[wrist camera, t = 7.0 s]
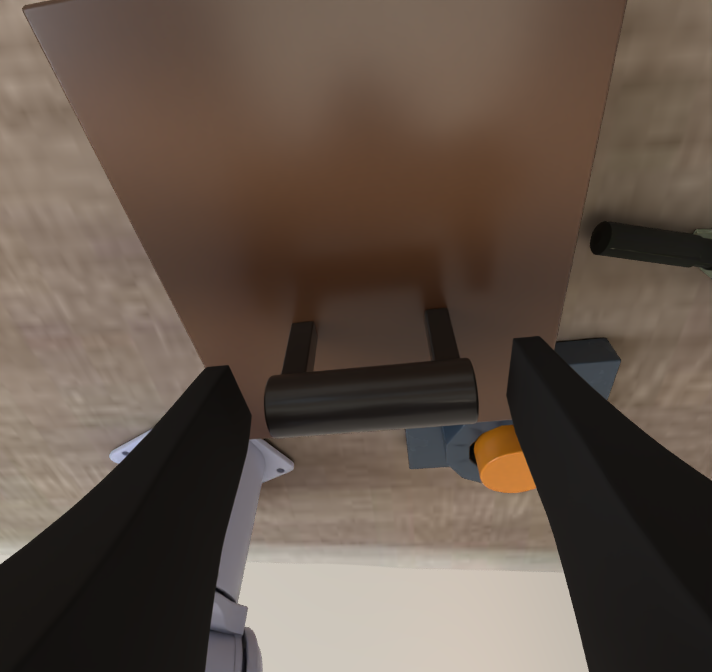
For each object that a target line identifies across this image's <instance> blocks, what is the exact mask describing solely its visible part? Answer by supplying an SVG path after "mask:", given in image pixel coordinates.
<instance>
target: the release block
mask: <svg viewBox="0 0 712 672" xmlns="http://www.w3.org/2000/svg"><path fill="white" fill-rule="evenodd" d="M554 351H555V352H556V353H557V354H558V355H559V356H560V357H561V358H562V359H563V360H564V361H565V362H566V363H568V364H569V365H570V366H571V367H572V368H573V369H574V370H575V371H576V372H577V373H578V374H579V375H580V376H581V377H582V378H583V379H584V380H585V381H586V382H587V383H588V384H589V385H591V386H592V387H593V388H594V389H595V390H596V391H597V392H598V393H599V394H600V395H602V396H603V397H604V398H605V399H606V400H608V397H609V394H610V391H611V388H612V386H613V383H614V380H615V377H616V374H617V371H618V369H619V366H620V363H621V359H620V358H619V356H618V355H617V353H616V352H615V350H614V349H613V347H612V346H611V344H610V343H609V341H608V340H607V338H599V339H588V340H578V341H567V342H556V344H555V349H554ZM504 425H513V421H512V420H501V421H488V422H476V423H474V424H464V425H451V426H438V427H425V428H411V429H405V432H406V441H407V450H408V460H409V468H410V469H423V468H438V467H451V468H452V469H453V470H454V471H455V472H456V473H458V474H459V475H460V476H461V477H462V478H464V479H468V480H472V481H476V482H480V483H482V481H481V479H480V475H479V471H478V467H477V462H476V458H475V454H474V444H475V442H476V440H477V439H478V437H479V436H480V435H481V434H483V433H485V432H488V431H490V430H492V429H495V428H497V427H500V426H504Z"/></svg>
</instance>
